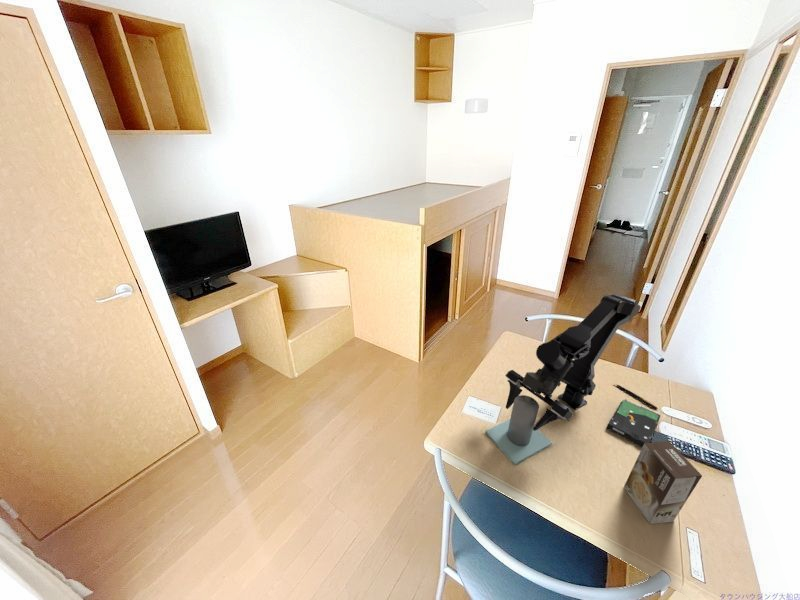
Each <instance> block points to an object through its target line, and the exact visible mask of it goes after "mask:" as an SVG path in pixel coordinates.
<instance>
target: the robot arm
mask: <svg viewBox="0 0 800 600" xmlns="http://www.w3.org/2000/svg"><path fill="white" fill-rule="evenodd" d="M640 309H641V305H640V304H639V301H638V299H637V300H636V299H635V298H632V297H629V296H625V295H623V294H620V293H617V292H616V293H613V294H605V295H603V297H602V298H601V300H600V302H599V303H598V304H597V306H596V307H595V308H594V309H593V310H592V311H590V313H588V314H587V316H586V317H584V319H583V320H581V321H580V323H578V324H577V325H573V326H569V327H568V328H567V329H565V330H564V331H563V332H561V333H559V334H558V335H556V336H555V337H554V338H552V339H550V340H549V341H548V342H544V343H541V344H540V345H538V347H537V348H536V350H535V355H536V358H537V359H538V361H540V363H541V364H542V365H543V366H542V367H541V368H538V369H537V370H536V371H535V372H533V371H532V372H531V371H529V372H526V373H525V375H524V377H523V376H522V375H521V374H520V373H518V372H517V371H515V370H514V369H510V370H509V371H507V373H506V374H505V377H506V378H508V379H507V382H508V383H509V391H508V396H507V400H506V405H505V409H507V410H508V409H510V408H511V407H512V406H513V404H514V399H515V398H516V397H517V396H520V395H521V393H522V392H523V389H521V388H524V389H525V390H526V391H528V392H530V393H531V394H532V395H534V396H535V397H536V398H538V399H540V400H541V401H542V402H544V403H545V404H547V405H548V406H550V407H551V409H549V407H546V410H545V412H544V414H543V415H542V416H541V417H540V419H539V420H538V421H537V422H535V425H534V428H533V430H534V431H536V430H539V429H541V428H542V427H545V426H547V425H548V424H550V423H552V422H554V421H558V420H560V421H563V420H566V421H568V422H570V421H571V419H572V417H573V416H574V411H573V410H577V409H579V408H581V407H583V406H585V405H587V404H588V401H587V400H586V399H585V398H584V397H586V396H593V393H594V390H595V389H596V383H595V382H594V378H595V377H596V375H595V373H596V372H595V366H596V364H597V362H598V361H599V359H600V358H601V356H602V354H603V353H604V351H605V350H606V348H607V347H608V345H609V343H610V342H611V340H612V339H613V337H614V336H615V334H616V333H617V330H619V328H620V327H621V326H623V325H625V324H627V323H629V322H631V320H632V319H633V318H634V317H636V316H637V315H638V313H639V312H640ZM562 383H563V384H565V387H564V391H563V393H561V394H559V395H558V396H557V398H558V399H559V400H560V401H559V400H558V399H554V400H553V399H552V397H553V393H554V391H555V390H556V389H557V388H558V387H560V386H561V384H562ZM541 394H542V395H541ZM561 401H562V402H561ZM564 403H565V404H564ZM569 407H570V408H569Z"/></svg>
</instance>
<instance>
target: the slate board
mask: <svg viewBox="0 0 800 600" xmlns="http://www.w3.org/2000/svg"><path fill="white" fill-rule="evenodd" d="M509 422H510V418H509V419H508V420H505V421H503V422H500V423H499V424H496V425H494V426H493V427H491V428H488V429H486V430H485V434H486V435H487V436H488V437H489V438H490V439H491V441H492V442H493V443H494V444H495V445H496V446H497V447H498V449H499V450H500V451H501V452H502V454H504V455H505V456H506V457H507V458H508V459H509V460H510V462H511V463H512V464H513V465H514V466H517V465H518V464H520V463H522V462H524V461H526V460H527V459H529V458H532V456H534V455H536V454H538V453H540V452H541V451H543V450H545V449H547V448H549V447H551V446H553V442H552V441H551V440H550V439H549V438H548V437H546V435H545V434H543V433H542V432H541V431H540V430H539V429H538V430H536V431H534V430H533V432H532V436H531V440H530V443H529V444H528V445H526V446H518V445H515V444H513V443H512V442H511V441H510V440H509V439H508V436H507V432H508V427H509Z"/></svg>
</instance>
